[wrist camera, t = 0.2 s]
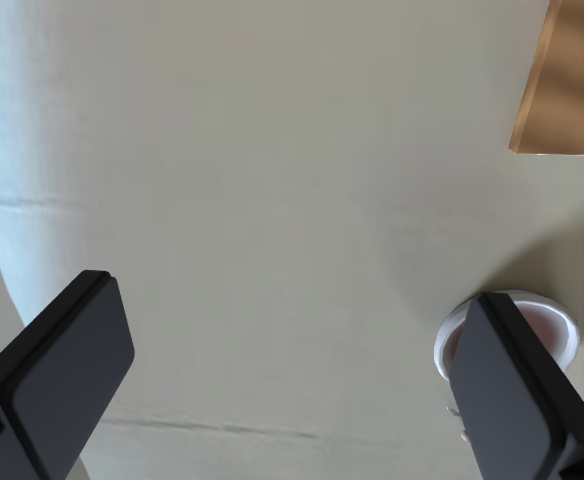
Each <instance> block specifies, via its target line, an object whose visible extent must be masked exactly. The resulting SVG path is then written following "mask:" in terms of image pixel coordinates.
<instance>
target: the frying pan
mask: <svg viewBox="0 0 584 480" xmlns="http://www.w3.org/2000/svg"><path fill="white" fill-rule="evenodd" d="M493 292H497V293H506V294H508V295H509V296H510V297H511V299H512V300H513V302H514V303H515V305H516V306H517V307H518V309H519V310H520V312H521V313H522V315H523V316H524V318H525V319H526V321H527V322H528V323H529V325H530V326H531V328H532V329H533V331H534V332H535V334H536V335H537V336H538V338H539V339H540V341H541V342H542V344H543V345H544V347H545V348H546V350H547V351H548V352H549V353H550V354H551V356H552V357H553V358H554V360H555V361H556V363H557V364H558V366H559V367H560V368H561V370H562V371H563V373H564V372H565V371H566V370H567V368H568V367H569V366H570V364H571V363H572V362H573V360H574V359H575V358H576V355H577V351H578V347H579V344H580V334H579V329H578V324H577V320H576V319H575V318H574V317H573V315H572V314H571V313H570V312H569V311H568V309H567V308H566V307H564V306H563V305H561V304H559V303H557V302H555V301H553V300H551V299H549V298H547V297H542V296H540V295H538V294H536V293H532V292H527V291H521V290H502V291H493ZM477 297H478V296H477ZM470 302H471V299H470V300H469V301H467V302H465V303H464V304H462V305H460V306H459V307H457V308H456V309H455V310H454V311H453V312H452V313H451V314H450V315H449V316H448V317H447V318H446V319H445V320H444V322H443V324H442V326H441V328H440V330H439V332H438V334H437V341H436V343H435V348H434V361H435V363H436V365H437V367H438V370H439V372H440V374H441V375H442V376H443V377H445V378H446V379H447V380H448V381H449V372H450V368H451V365H452V362H453V358H454V355H455V352H456V348H457V345H458V342H459V338H460V335H461V332H462V328H463V325H464V322H465V318H466V315H467V312H468V308H469V305H470ZM449 382H450V381H449ZM447 408H448V411H449V412H450V413H451V414H453V415H455V416H456V417H458V418H460V419H462V417H461V415H460V413H458V412H456V411H455V410H453V409H452V408H450V407H448V406H447ZM462 437H463V438H464V440H466V441H470V440H469V437H468V435H467V432H466V430H464V431H462Z"/></svg>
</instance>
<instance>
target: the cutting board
mask: <svg viewBox="0 0 584 480" xmlns="http://www.w3.org/2000/svg"><path fill="white" fill-rule="evenodd" d="M509 149H510V150H512V151H513V152H515V153H516V154H548V155H583V156H584V0H551V1H550V5H549V8H548V12H547V15H546V19H545V22H544V26H543V29H542V33H541V36H540V40H539V43H538V47H537V50H536V54H535V57H534V61H533V64H532V68H531V71H530V75H529V78H528V82H527V85H526V89H525V92H524V96H523V99H522V103H521V106H520V110H519V113H518V117H517V120H516V124H515V127H514V131H513V134H512V138H511V141H510V145H509Z"/></svg>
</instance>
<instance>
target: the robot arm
mask: <svg viewBox="0 0 584 480" xmlns="http://www.w3.org/2000/svg"><path fill="white" fill-rule="evenodd" d="M134 352H135V351H134V346H133V342H132V338H131V335H130V331H129V327H128V323H127V319H126V315H125V311H124V307H123V303H122V299H121V295H120V291H119V287H118V283H117V280H116V278H115V277H111V275H110V273H109V272H107V271H97V270H84V271H82V272H81V273H80V274H79V275H78V276H77V277H76V278H75V279H74V280H73V281H72V282H71V283H70V284H69V285H68V286H67V287H66V288H65V289H64V290H63V291H62V292H61V293H60V294H59V295H58V296H57V297H56V298H55V299H54V300H53V301H52V302H51V303H50V304H49V305H48V306H47V307H46V308H45V309H44V310H43V311H42V312H41V313H40V314H39V315H38V316H37V317H36V318H35V319H34V320H33V321H32V322H31V323H30V324H29V325H28V326H27V327H26V328H25V329H24V330H23V331H22V332H21V333H20V334H19V335H18V336H17V337H16V338H15V339H14V340H13V341H12V342H11V343H10V344H9V345H8V346H7V347H6V348H5V349H4V350H3V351H2V352H1V353H0V480H65V479H66V477H67V475H68V474H69V472H70V470H71V468H72V467H73V465H74V463H75V461H76V460H77V458H78V456H79V455H80V453H81V451H82V449H83V448H84V446H85V444H86V442H87V441H88V439H89V437H90V435H91V434H92V432H93V430H94V429H95V427H96V425H97V423H98V422H99V420H100V418H101V416H102V415H103V413H104V411H105V409H106V408H107V406H108V404H109V403H110V401H111V399H112V397H113V396H114V394H115V392H116V390H117V389H118V387H119V385H120V383H121V382H122V380H123V378H124V377H125V375H126V373H127V371H128V370H129V368H130V366H131V364H132V362H133V359H134ZM449 381H450V386H451V389H452V392H453V395H454V397H455V400H456V403H457V406H458V409H459V412H460V415H461V417H462V420H463V423H464V426H465V429H466V432H467V435H468V437H469V440H470V443H471V446H472V449H473V452H474V455H475V457H476V460H477V463H478V466H479V469H480V472H481V475H482V477H483V480H584V402H583V400H582V399H581V397H580V396H579V394H578V393H577V392H576V390H575V389H574V387H573V386H572V384H571V383H570V381H569V380H568V379H567V377H566V376H565V374H564V373H563V371H562V370H561V368H560V367H559V366H558V364H557V363H556V361H555V360H554V358H553V357H552V356H551V354H550V353H549V352H548V351H547V350H546V348H545V347H544V345H543V344H542V342H541V341H540V339H539V338H538V336H537V335H536V334H535V332H534V331H533V329H532V328H531V326H530V325H529V323H528V322H527V321H526V319H525V318H524V316H523V315H522V313H521V312H520V310H519V309H518V307H517V306H516V305H515V303H514V302H513V300H512V299H511V297H510V296H509V295H508V294H506V293H497V292H481V293H480V294H479V296H478V297H473V298H472V299H471V302H470V305H469V308H468V312H467V315H466V318H465V322H464V325H463V328H462V332H461V335H460V338H459V342H458V345H457V348H456V352H455V355H454V358H453V362H452V365H451V368H450V372H449Z"/></svg>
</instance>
